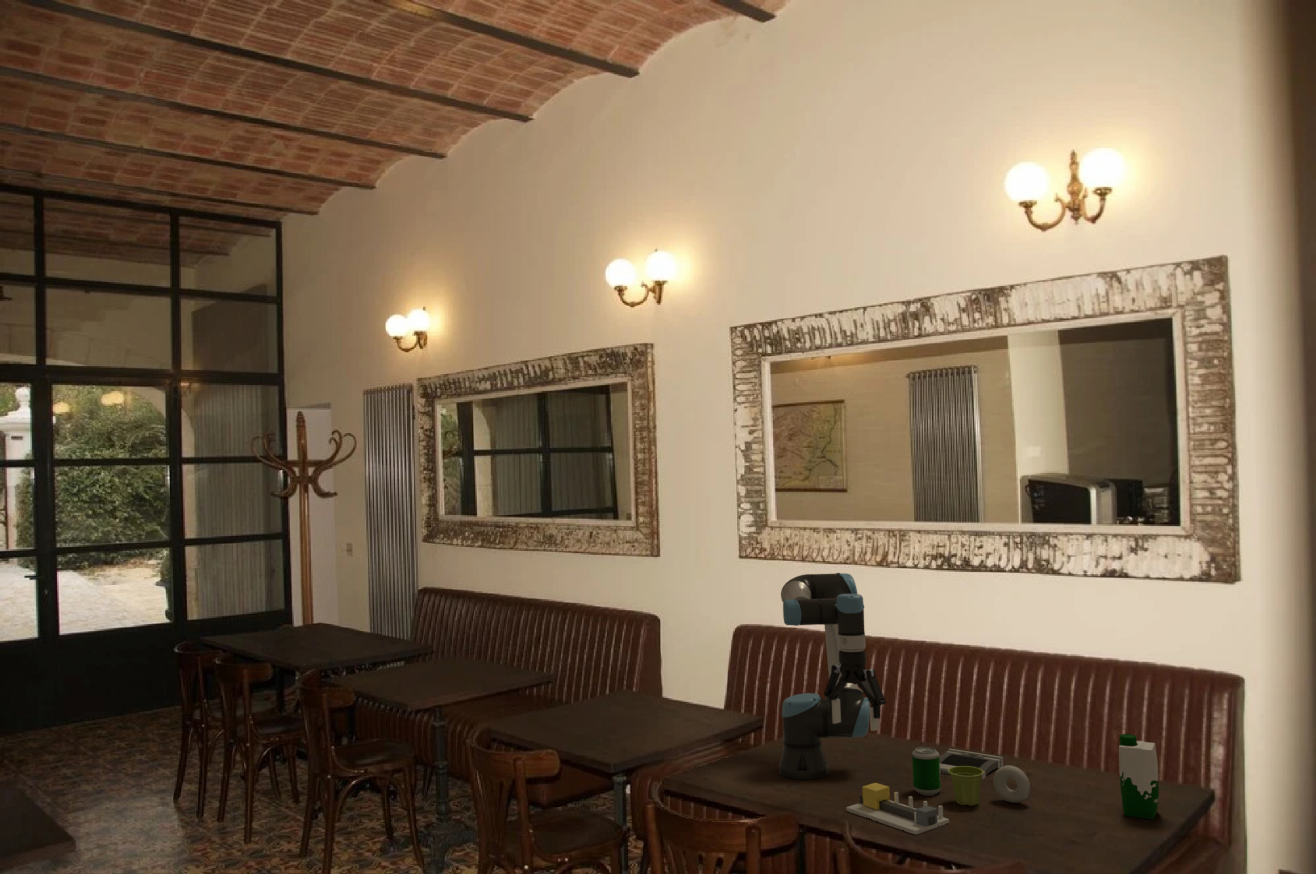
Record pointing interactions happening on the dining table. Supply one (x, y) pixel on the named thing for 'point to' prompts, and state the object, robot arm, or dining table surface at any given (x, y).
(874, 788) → the yellow sliding cube
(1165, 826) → the dining table surface
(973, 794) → the plant pot
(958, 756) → the alarm clock
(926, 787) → the soda can
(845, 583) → the robot arm
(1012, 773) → the donut
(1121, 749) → the milk carton
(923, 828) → the white pegged slab
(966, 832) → the dining table surface
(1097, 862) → the dining table surface
